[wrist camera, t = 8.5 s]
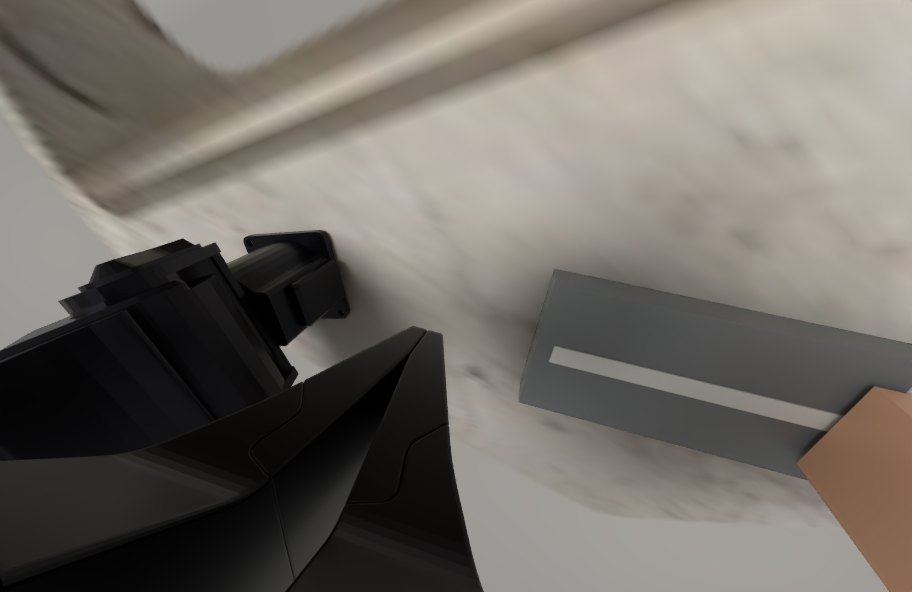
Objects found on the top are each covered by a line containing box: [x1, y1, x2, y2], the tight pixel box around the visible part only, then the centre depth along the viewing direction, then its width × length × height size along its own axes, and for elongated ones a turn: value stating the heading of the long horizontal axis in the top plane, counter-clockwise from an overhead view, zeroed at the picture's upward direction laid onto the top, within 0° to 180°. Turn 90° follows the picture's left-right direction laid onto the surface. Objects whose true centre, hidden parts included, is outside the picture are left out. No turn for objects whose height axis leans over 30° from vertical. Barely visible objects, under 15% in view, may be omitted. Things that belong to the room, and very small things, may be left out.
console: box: [519, 269, 912, 480], centre depth 20 cm, size 22×9×2 cm, turn 82°
